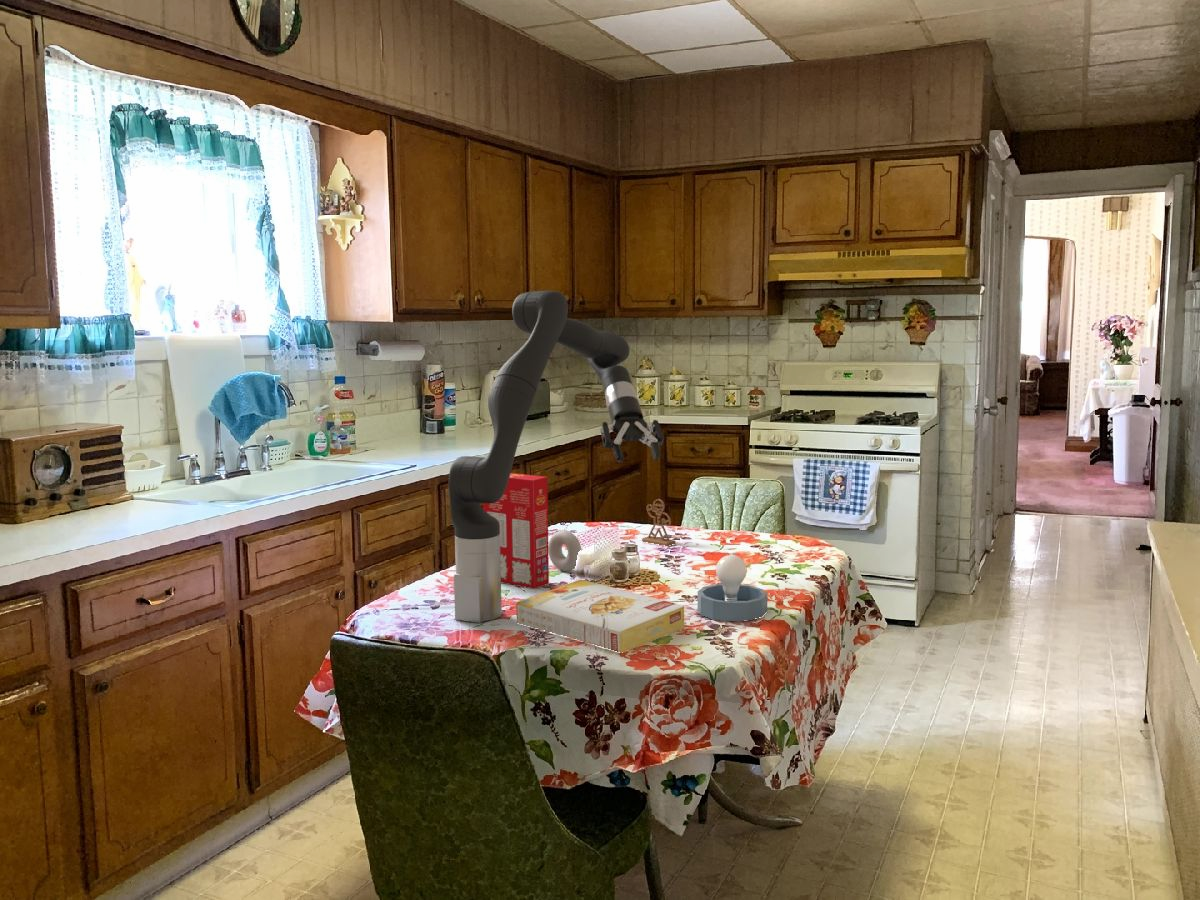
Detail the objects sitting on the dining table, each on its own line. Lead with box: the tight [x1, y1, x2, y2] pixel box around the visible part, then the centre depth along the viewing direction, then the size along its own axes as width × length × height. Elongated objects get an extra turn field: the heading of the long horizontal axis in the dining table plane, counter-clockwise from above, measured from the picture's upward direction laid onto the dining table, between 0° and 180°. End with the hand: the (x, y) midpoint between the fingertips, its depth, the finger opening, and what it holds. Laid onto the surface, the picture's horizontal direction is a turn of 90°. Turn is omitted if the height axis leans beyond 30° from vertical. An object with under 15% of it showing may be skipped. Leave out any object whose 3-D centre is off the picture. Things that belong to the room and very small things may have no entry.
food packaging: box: [482, 472, 550, 589], centre depth 233 cm, size 15×5×25 cm, turn 57°
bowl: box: [696, 583, 769, 622], centre depth 211 cm, size 14×14×4 cm
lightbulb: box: [715, 554, 748, 601], centre depth 210 cm, size 6×6×11 cm
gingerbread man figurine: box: [641, 498, 677, 547], centre depth 271 cm, size 9×4×12 cm, turn 48°
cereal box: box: [515, 579, 685, 654], centre depth 202 cm, size 20×6×28 cm
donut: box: [548, 530, 582, 572], centre depth 244 cm, size 10×4×10 cm, turn 48°
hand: (639, 459), depth 231 cm, fingers open, 8 cm apart
